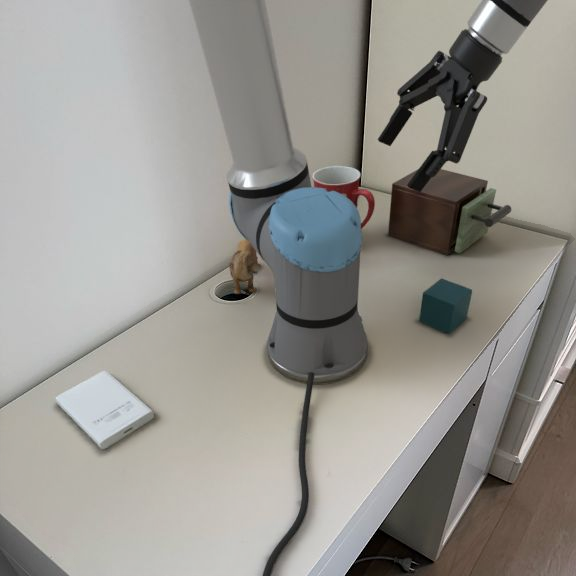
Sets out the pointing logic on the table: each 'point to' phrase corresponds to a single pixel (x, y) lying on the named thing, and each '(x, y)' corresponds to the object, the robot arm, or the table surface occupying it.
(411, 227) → the cabinet
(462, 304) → the block
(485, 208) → the drawer
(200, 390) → the table surface
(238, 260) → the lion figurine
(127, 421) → the hard drive
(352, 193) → the mug
